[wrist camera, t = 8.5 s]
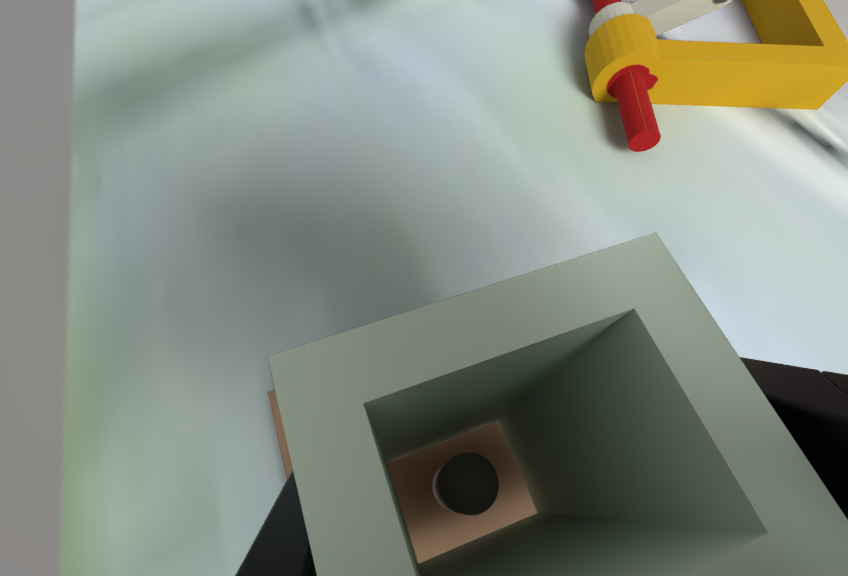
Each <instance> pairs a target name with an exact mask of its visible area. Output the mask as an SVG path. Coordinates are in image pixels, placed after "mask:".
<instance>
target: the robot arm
mask: <svg viewBox="0 0 848 576" xmlns="http://www.w3.org/2000/svg"><path fill="white" fill-rule="evenodd" d="M739 358H740V359H741V361H742V362H743V364H744V365H745V367H746V368H747V370H748V371H749V373H750V374H751V376H752V377H753V379H754V380H755V382H756V383H757V385H758V386H759V388H760V389H761V391H762V392H763V394H764V395H765V397H766V398H767V400H768V401H769V403H770V404H771V406H772V407H773V409H774V410H775V412H776V413H777V415H778V416H779V418H780V419H781V421H782V422H783V424H784V425H785V427H786V428H787V430H788V431H789V433H790V434H791V436H792V437H793V439H794V440H795V442H796V443H797V445H798V446H799V448H800V449H801V451H802V452H803V454H804V455H805V457H806V458H807V460H808V461H809V463H810V464H811V466H812V467H813V469H814V470H815V472H816V473H817V475H818V476H819V478H820V479H821V481H822V482H823V484H824V485H825V487H826V488H827V490H828V491H829V493H830V494H831V496H832V497H833V499H834V500H835V502H836V503H837V505H838V506H839V508H840V509H841V511H842V512H843V514H844V515H845V517H846V518H847V520H848V375H845V374H839V373H833V372H827V371H823V372H820V371H818V370H815V369H808V368H802V367H796V366H790V365H784V364H778V363H772V362H766V361H760V360H754V359H748V358H742V357H739ZM235 576H317V574H316V569H315V565H314V560H313V556H312V551H311V547H310V543H309V538H308V534H307V529H306V525H305V520H304V516H303V512H302V507H301V503H300V498H299V494H298V489H297V485H296V481H295V476H294V472H293V470H292V472H291V474H290V476H289V477H288V479H287V481H286V483H285V485H284V487H283V489H282V490H281V492H280V494H279V496H278V498H277V500H276V501H275V503H274V505H273V507H272V509H271V511H270V513H269V514H268V516H267V518H266V520H265V522H264V524H263V525H262V527H261V529H260V531H259V533H258V535H257V537H256V538H255V540H254V542H253V544H252V546H251V548H250V549H249V551H248V553H247V555H246V557H245V559H244V561H243V562H242V564H241V566H240V568H239V570H238V572H237V574H236V575H235Z"/></svg>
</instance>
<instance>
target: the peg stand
mask: <svg viewBox="0 0 848 576" xmlns="http://www.w3.org/2000/svg"><path fill="white" fill-rule="evenodd" d="M268 396H269V401H270V405H271V410H272V414H273V419H274V423H275V428H276V432H277V437H278V441H279V446H280V450H281V455H282V459H283V464H284V468H285V473H286V477H287V479H288V477H289V476H290V474H291V472H292V470H293V467H292V463H291V458H290V454H289V450H288V445H287V441H286V436H285V432H284V428H283V423H282V419H281V414H280V410H279V405H278V401H277V397H276V392H275V390H273V391H270V392H268ZM388 466H389V470H390V473H391V476H392V479H393V483H394V486H395V489H396V492H397V496H398V499H399V502H400V505H401V509H402V512H403V515H404V519H405V522H406V525H407V528H408V532H409V535H410V538H411V541H412V545H413V548H414V551H415V554H416V558H417V561H418V564H419V563H421V562H423V561H426V560H428V559H430V558H433V557H435V556H437V555H440V554H442V553H444V552H447V551H449V550H451V549H454V548H456V547H458V546H461V545H463V544H465V543H468V542H470V541H472V540H475V539H477V538H479V537H482V536H484V535H486V534H489V533H491V532H494V531H496V530H498V529H501V528H503V527H505V526H508V525H510V524H512V523H515V522H517V521H519V520H522V519H524V518H526V517H529V516H531V515H533V514H536V513H537V511H536V508H535V506H534V503H533V501H532V499H531V496H530V494H529V491H528V489H527V487H526V484H525V482H524V479H523V477H522V475H521V472H520V470H519V467H518V465H517V463H516V460H515V458H514V456H513V453H512V451H511V448H510V446H509V444H508V441H507V439H506V436H505V434H504V432H503V429H502V427H501V424H500V422H499V421H497V422H494V423H492V424H489V425H486V426H484V427H481V428H479V429H476V430H473V431H471V432H468V433H465V434H463V435H460V436H457V437H455V438H452V439H450V440H447V441H444V442H442V443H439V444H436V445H434V446H431V447H428V448H426V449H423V450H421V451H418V452H415V453H413V454H410V455H407V456H405V457H402V458H399V459H397V460H394V461H392V462H389V463H388Z"/></svg>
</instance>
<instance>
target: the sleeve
mask: <svg viewBox="0 0 848 576" xmlns="http://www.w3.org/2000/svg"><path fill="white" fill-rule="evenodd" d="M267 357H268V361H269V366H270V370H271V374H272V379H273V383H274V388H275V392H276V397H277V401H278V405H279V410H280V414H281V419H282V423H283V428H284V432H285V436H286V441H287V445H288V450H289V454H290V458H291V463H292V467H293V472H294V476H295V481H296V485H297V489H298V494H299V498H300V503H301V507H302V512H303V516H304V520H305V525H306V529H307V534H308V538H309V543H310V547H311V551H312V556H313V560H314V565H315V569H316V574H317V576H848V520H847V518H846V517H845V515H844V514H843V512H842V511H841V509H840V508H839V506H838V505H837V503H836V502H835V500H834V499H833V497H832V496H831V494H830V493H829V491H828V490H827V488H826V487H825V485H824V484H823V482H822V481H821V479H820V478H819V476H818V475H817V473H816V472H815V470H814V469H813V467H812V466H811V464H810V463H809V461H808V460H807V458H806V457H805V455H804V454H803V452H802V451H801V449H800V448H799V446H798V445H797V443H796V442H795V440H794V439H793V437H792V436H791V434H790V433H789V431H788V430H787V428H786V427H785V425H784V424H783V422H782V421H781V419H780V418H779V416H778V415H777V413H776V412H775V410H774V409H773V407H772V406H771V404H770V403H769V401H768V400H767V398H766V397H765V395H764V394H763V392H762V391H761V389H760V388H759V386H758V385H757V383H756V382H755V380H754V379H753V377H752V376H751V374H750V373H749V371H748V370H747V368H746V367H745V365H744V364H743V362H742V361H741V359H740V358H739V356H738V355H737V353H736V352H735V350H734V349H733V347H732V346H731V344H730V343H729V341H728V340H727V338H726V337H725V335H724V334H723V332H722V331H721V329H720V328H719V326H718V325H717V323H716V322H715V320H714V319H713V317H712V316H711V314H710V313H709V311H708V310H707V308H706V307H705V305H704V304H703V302H702V301H701V299H700V298H699V296H698V295H697V293H696V292H695V290H694V289H693V287H692V286H691V284H690V283H689V281H688V280H687V278H686V277H685V275H684V274H683V272H682V271H681V269H680V268H679V266H678V265H677V263H676V262H675V260H674V259H673V257H672V256H671V254H670V253H669V251H668V250H667V248H666V247H665V245H664V244H663V242H662V241H661V239H660V238H659V236H658V235H657V233H656V232H655V233H652V234H649V235H646V236H643V237H640V238H636V239H633V240H630V241H627V242H624V243H621V244H618V245H614V246H611V247H608V248H605V249H602V250H599V251H596V252H592V253H589V254H586V255H583V256H580V257H577V258H574V259H570V260H567V261H564V262H561V263H558V264H555V265H552V266H548V267H545V268H542V269H539V270H536V271H533V272H530V273H526V274H523V275H520V276H517V277H514V278H511V279H508V280H504V281H501V282H498V283H495V284H492V285H489V286H486V287H482V288H479V289H476V290H473V291H470V292H467V293H464V294H460V295H457V296H454V297H451V298H448V299H445V300H442V301H438V302H435V303H432V304H429V305H426V306H423V307H420V308H416V309H413V310H410V311H407V312H404V313H401V314H398V315H394V316H391V317H388V318H385V319H382V320H379V321H376V322H372V323H369V324H366V325H363V326H360V327H357V328H354V329H350V330H347V331H344V332H341V333H338V334H335V335H332V336H328V337H325V338H322V339H319V340H316V341H313V342H310V343H306V344H303V345H300V346H297V347H294V348H291V349H288V350H284V351H281V352H278V353H275V354H272V355H269V356H267ZM497 421H499V422H500V424H501V427H502V429H503V432H504V434H505V436H506V439H507V441H508V444H509V446H510V448H511V451H512V453H513V456H514V458H515V460H516V463H517V465H518V467H519V470H520V472H521V475H522V477H523V479H524V482H525V484H526V487H527V489H528V491H529V494H530V496H531V499H532V501H533V503H534V506H535V508H536V511H537V513H536V514H533V515H531V516H529V517H526V518H524V519H522V520H519V521H517V522H515V523H512V524H510V525H508V526H505V527H503V528H501V529H498V530H496V531H494V532H491V533H489V534H486V535H484V536H482V537H479V538H477V539H475V540H472V541H470V542H468V543H465V544H463V545H461V546H458V547H456V548H454V549H451V550H449V551H447V552H444V553H442V554H440V555H437V556H435V557H433V558H430V559H428V560H426V561H423V562H421V563H419V564H418V561H417V558H416V554H415V551H414V548H413V545H412V541H411V538H410V535H409V532H408V528H407V525H406V522H405V519H404V515H403V512H402V509H401V505H400V502H399V499H398V496H397V492H396V489H395V486H394V483H393V479H392V476H391V473H390V470H389V466H388V463H389V462H392V461H394V460H397V459H399V458H402V457H405V456H407V455H410V454H413V453H415V452H418V451H421V450H423V449H426V448H428V447H431V446H434V445H436V444H439V443H442V442H444V441H447V440H450V439H452V438H455V437H457V436H460V435H463V434H465V433H468V432H471V431H473V430H476V429H479V428H481V427H484V426H486V425H489V424H492V423H494V422H497Z"/></svg>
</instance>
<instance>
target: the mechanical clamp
mask: <svg viewBox="0 0 848 576" xmlns="http://www.w3.org/2000/svg"><path fill="white" fill-rule="evenodd" d="M731 1H732V0H639V1H636V2H634V3H632V4H629V3H627V2H621V0H592V3H593V7H594V11H595V16H594V18H593V19H592V21H591V23H590V26H589V37H590V38H589V40H588V41H587V43H586V46H585V50H584V59H585V63H586V68H587V72H588V77H589V81H590V86H591V90H592V95H593V97H594V100H595V101H596V102H609V103H618V107H619V111H620V115H621V119H622V123H623V127H624V131H625V135H626V139H627V143H628V147H629V149H630V150H632V151H635V152H641V151H646V150H648V149H651V148H652V147H654V146H655V145H656V144H657V143H658V142H659V141H660V138H661V136H660V132H659V129H658V125H657V122H656V119H655V115H654V112H653V108H652V105H651V104H668V105H697V106H727V107H756V108H786V109H815V110H817V109H818V108H819V107H820V106H822V105H823V104H824V103H825V102H826V101H827V100H828V99H829V98H830V97H831V96H832V95H833V94H834V93H835V92H836V91H838V90H839V89H840V88H841V87H842V86H843V85H844V84H845V83H846V82H847V81H848V41H847V40H846V38H845V36H844V34H843V33H842V31H841V29H840V28H839V26H838V24H837V23H836V21H835V19H834V18H833V16H832V14H831V12H830V11H829V9H828V7H827V6H826V4H825V2H824V1H823V0H742V2H743V4H744V6H745V8H746V11H747V13H748V15H749V17H750V19H751V21H752V23H753V26H754V28H755V30H756V32H757V34H758V36H759V38H760V40H761V43H762V44H752V43H728V42H703V41H679V40H657V37H656V36H657V35H659V34H661V33H664V32H666V31H668V30H671V29H673V28H675V27H677V26H680V25H682V24H684V23H687V22H689V21H691V20H694V19H696V18H698V17H700V16H703V15H705V14H707V13H710V12H712V11H714V10H716V9H719V8H721V7H723V6H725V5H727V4H729V3H730V2H731Z"/></svg>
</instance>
